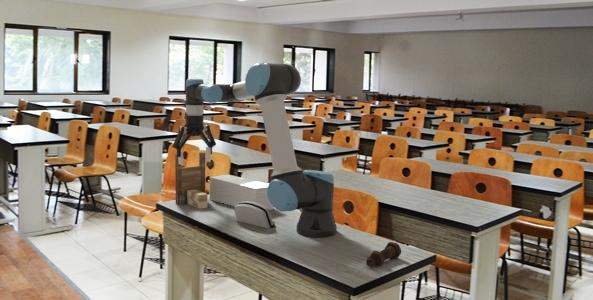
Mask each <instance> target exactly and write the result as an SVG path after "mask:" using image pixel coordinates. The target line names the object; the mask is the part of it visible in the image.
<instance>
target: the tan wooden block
mask: <svg viewBox="0 0 593 300" xmlns="http://www.w3.org/2000/svg"><path fill="white" fill-rule="evenodd" d="M185 204H187V205H189V206H192V207H194V208H196V209H206V208H208V193H206V192H205V193H203V192H201V191H198V190H195V189H190V190H186V203H185Z"/></svg>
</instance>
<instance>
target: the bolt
mask: <svg viewBox="0 0 593 300" xmlns="http://www.w3.org/2000/svg"><path fill="white" fill-rule="evenodd" d="M401 254H402V250H401V247H400V245H399V244H398V243H397V242H393V241H389V242H387V244H386V245H385V247H384V248H383V249H381V250H380V251H378V250H374V251H372V252H371V254H370V255H369V256H368V257H366V260H365V264H366V266H367V267H369V268H373V267H375V266H376V267H382V265H384V263H385V261H387V260H389V259H393V258H394V259H393V260H397V259H398V258H399V257H400V256H401Z"/></svg>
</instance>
